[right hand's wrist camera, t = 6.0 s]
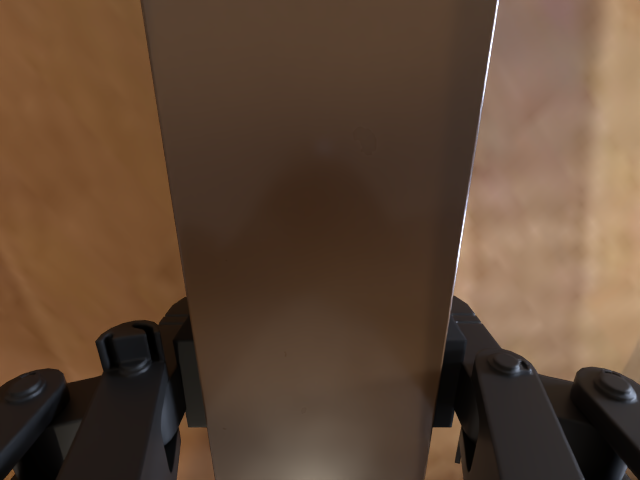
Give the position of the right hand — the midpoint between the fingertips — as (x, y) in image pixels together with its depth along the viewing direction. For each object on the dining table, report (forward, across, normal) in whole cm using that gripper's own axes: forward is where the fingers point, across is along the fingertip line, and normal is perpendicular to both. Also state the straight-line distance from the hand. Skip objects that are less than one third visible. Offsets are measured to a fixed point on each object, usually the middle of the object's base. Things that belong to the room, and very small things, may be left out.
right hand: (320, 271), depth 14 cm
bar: (0, 0, -18) cm, 18 cm away
